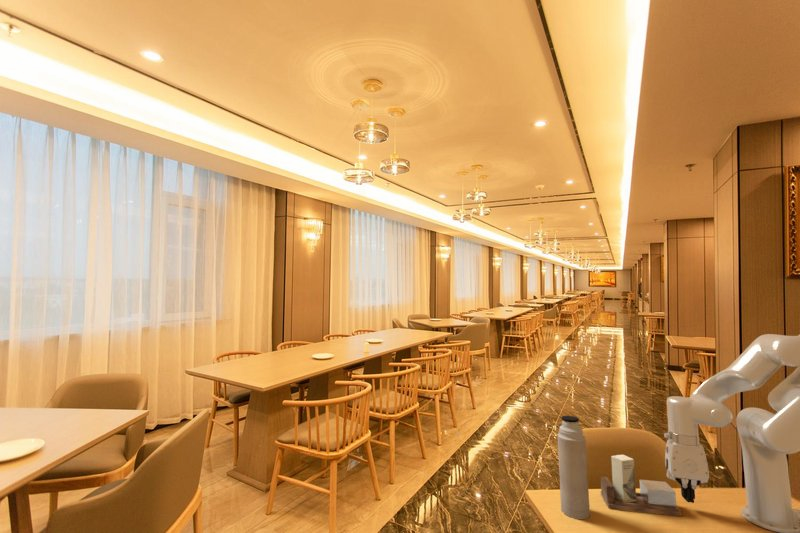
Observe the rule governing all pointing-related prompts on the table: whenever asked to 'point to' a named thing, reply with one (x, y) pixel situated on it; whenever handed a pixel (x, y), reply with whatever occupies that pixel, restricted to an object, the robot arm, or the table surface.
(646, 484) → the block
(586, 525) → the table surface
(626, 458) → the box
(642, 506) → the clamp board
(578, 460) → the thermos bottle
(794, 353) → the robot arm
